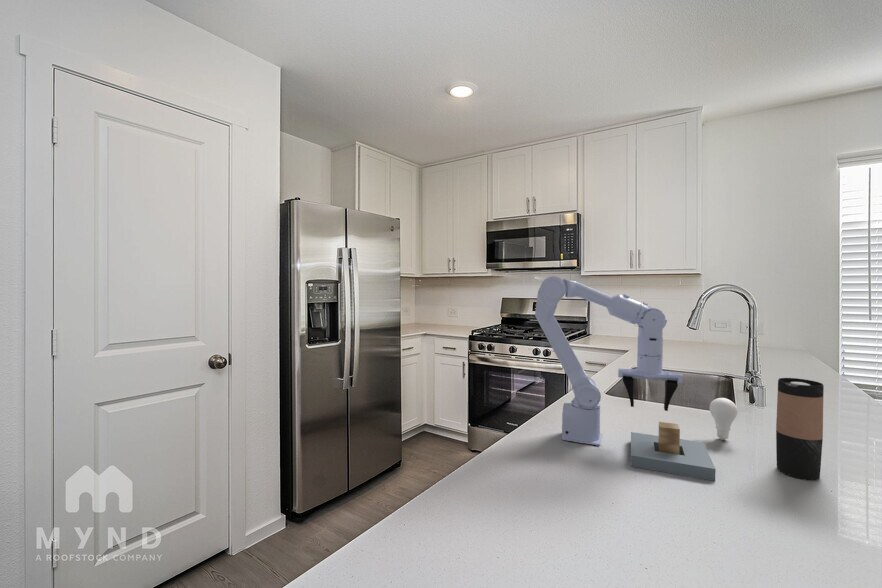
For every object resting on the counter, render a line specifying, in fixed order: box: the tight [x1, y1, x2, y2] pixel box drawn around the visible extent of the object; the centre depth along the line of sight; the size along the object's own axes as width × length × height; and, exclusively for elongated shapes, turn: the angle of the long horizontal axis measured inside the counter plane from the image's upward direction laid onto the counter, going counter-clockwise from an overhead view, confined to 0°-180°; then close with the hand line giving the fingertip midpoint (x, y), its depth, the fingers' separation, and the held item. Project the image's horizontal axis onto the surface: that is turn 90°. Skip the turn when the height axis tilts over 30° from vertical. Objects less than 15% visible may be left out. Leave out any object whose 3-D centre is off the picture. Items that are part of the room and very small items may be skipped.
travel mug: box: [775, 377, 825, 481], centre depth 90 cm, size 8×8×20 cm
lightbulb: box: [709, 397, 739, 441], centre depth 109 cm, size 6×6×11 cm
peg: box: [658, 421, 681, 455], centre depth 97 cm, size 4×4×8 cm
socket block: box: [630, 431, 717, 482], centre depth 97 cm, size 16×16×2 cm
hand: (648, 407), depth 106 cm, fingers open, 7 cm apart
